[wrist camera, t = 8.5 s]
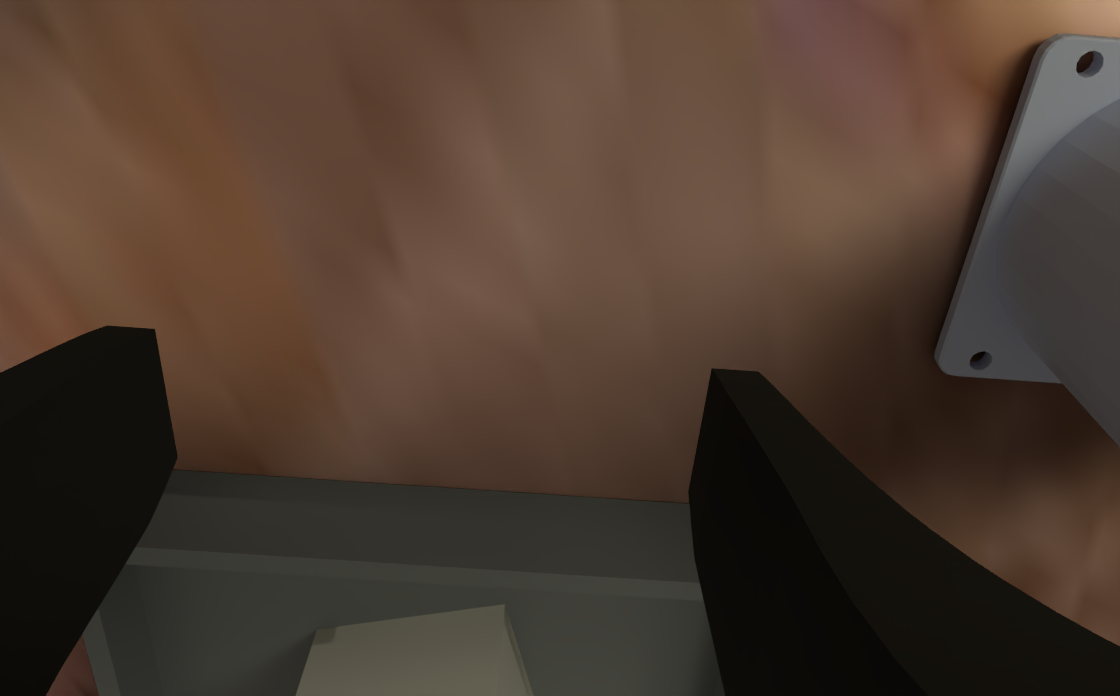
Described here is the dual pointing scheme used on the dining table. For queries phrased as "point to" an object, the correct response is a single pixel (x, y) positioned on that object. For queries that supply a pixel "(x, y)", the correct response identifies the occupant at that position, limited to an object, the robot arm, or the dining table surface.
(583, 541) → the tray
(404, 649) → the open box
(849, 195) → the dining table surface
